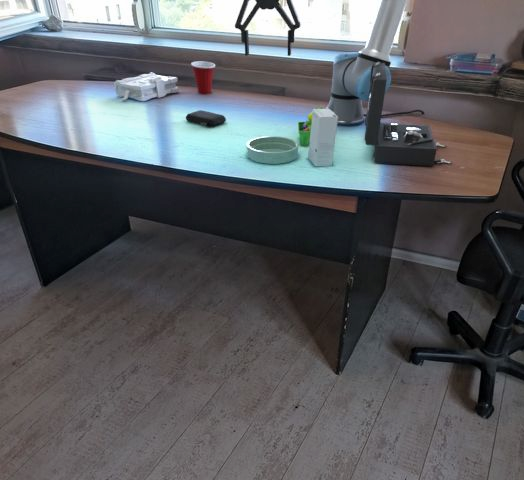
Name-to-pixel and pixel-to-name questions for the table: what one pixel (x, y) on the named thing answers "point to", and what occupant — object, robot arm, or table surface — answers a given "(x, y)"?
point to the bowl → (272, 149)
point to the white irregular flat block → (145, 86)
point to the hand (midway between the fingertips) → (268, 55)
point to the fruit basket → (306, 129)
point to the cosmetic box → (322, 137)
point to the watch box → (395, 131)
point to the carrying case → (205, 118)
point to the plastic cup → (203, 75)
